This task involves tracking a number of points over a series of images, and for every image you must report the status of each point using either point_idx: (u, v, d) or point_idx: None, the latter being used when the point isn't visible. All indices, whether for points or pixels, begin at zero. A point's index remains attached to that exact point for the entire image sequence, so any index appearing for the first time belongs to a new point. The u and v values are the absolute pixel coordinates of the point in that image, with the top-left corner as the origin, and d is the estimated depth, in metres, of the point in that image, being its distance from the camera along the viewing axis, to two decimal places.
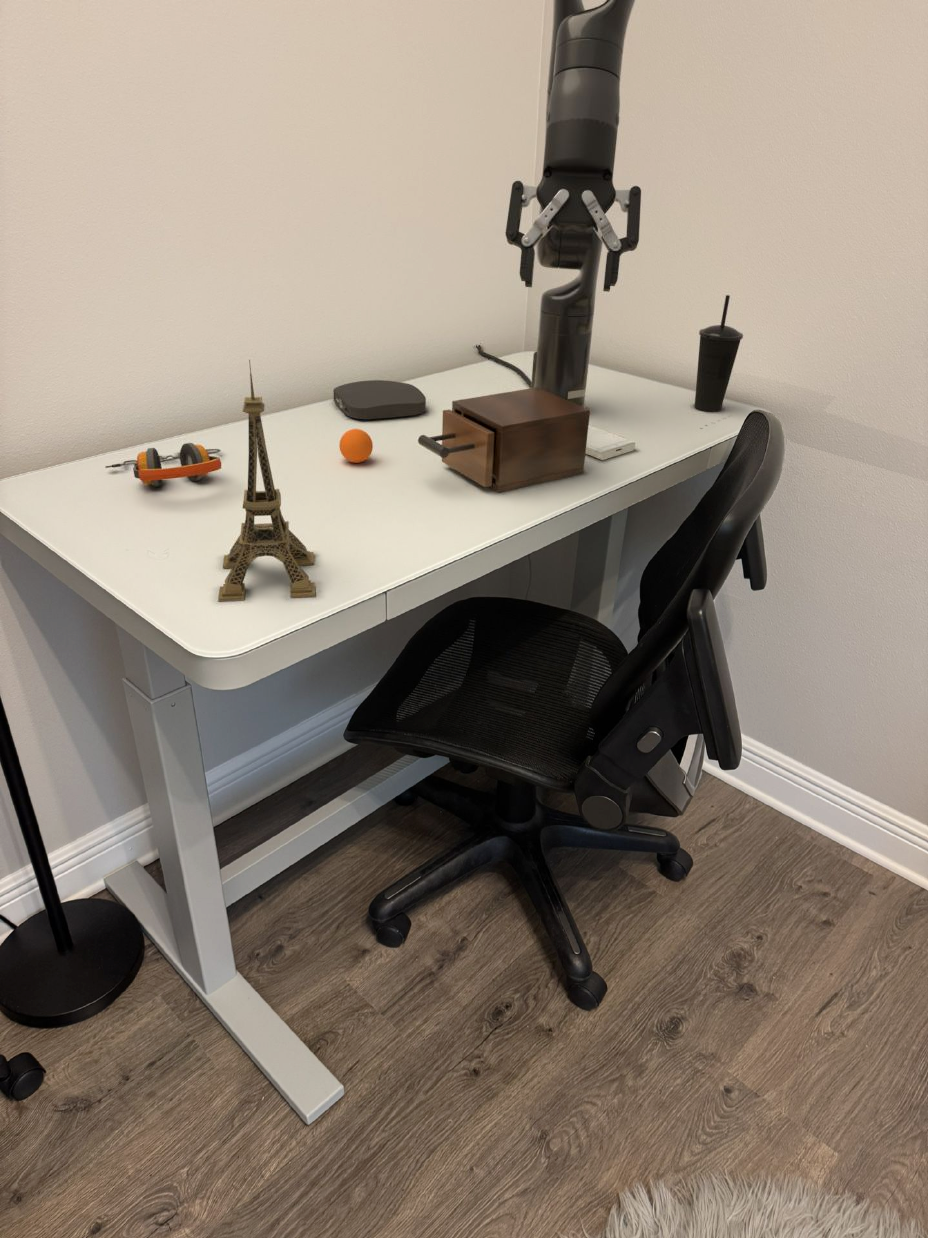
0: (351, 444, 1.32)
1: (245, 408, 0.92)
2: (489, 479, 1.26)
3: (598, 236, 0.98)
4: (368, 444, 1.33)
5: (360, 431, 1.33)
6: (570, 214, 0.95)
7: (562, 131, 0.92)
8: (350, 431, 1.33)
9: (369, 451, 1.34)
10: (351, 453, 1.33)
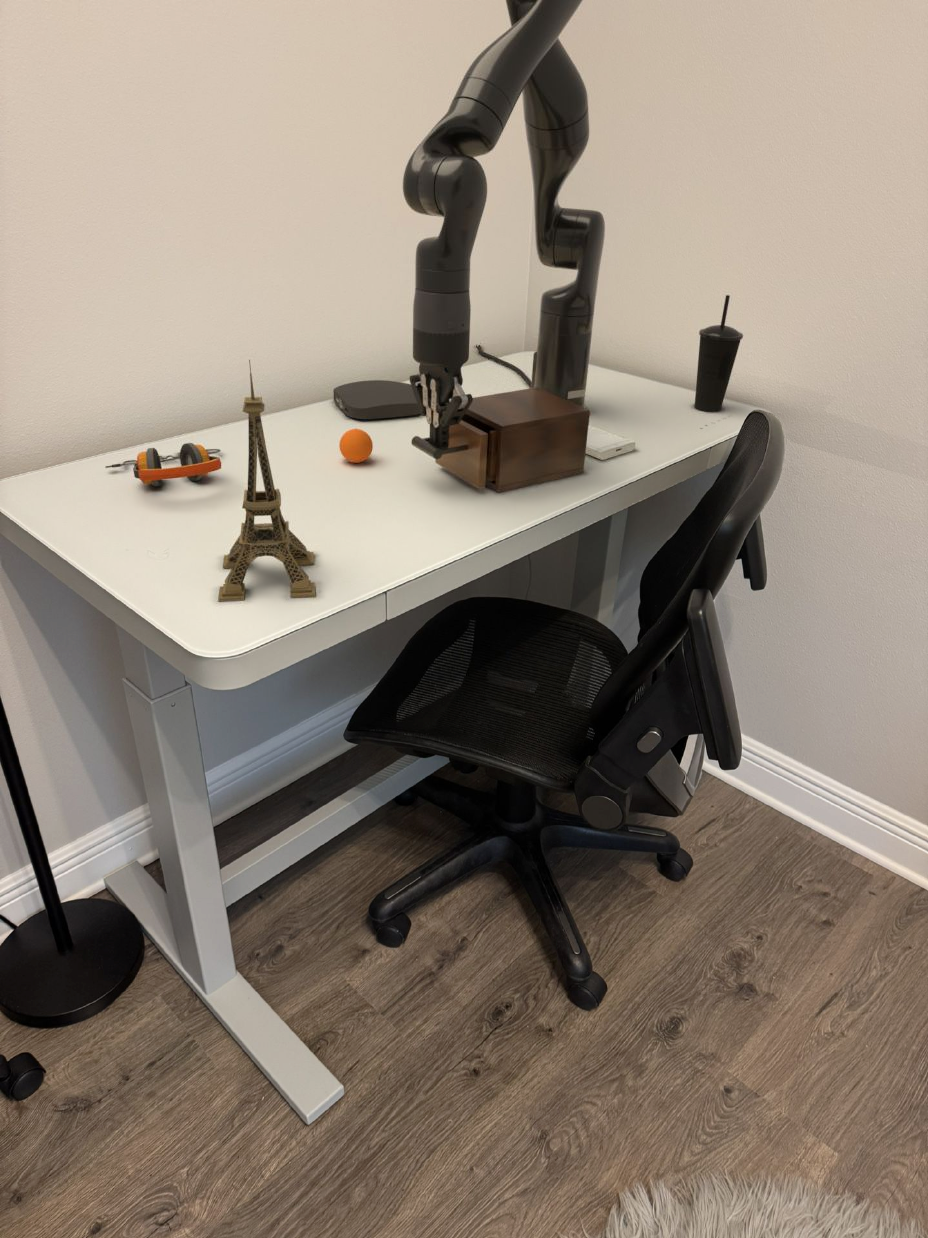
0: (351, 444, 1.32)
1: (245, 408, 0.92)
2: (482, 481, 1.26)
3: None
4: (368, 444, 1.33)
5: (360, 431, 1.33)
6: (431, 392, 1.22)
7: None
8: (350, 431, 1.33)
9: (369, 451, 1.34)
10: (351, 453, 1.33)
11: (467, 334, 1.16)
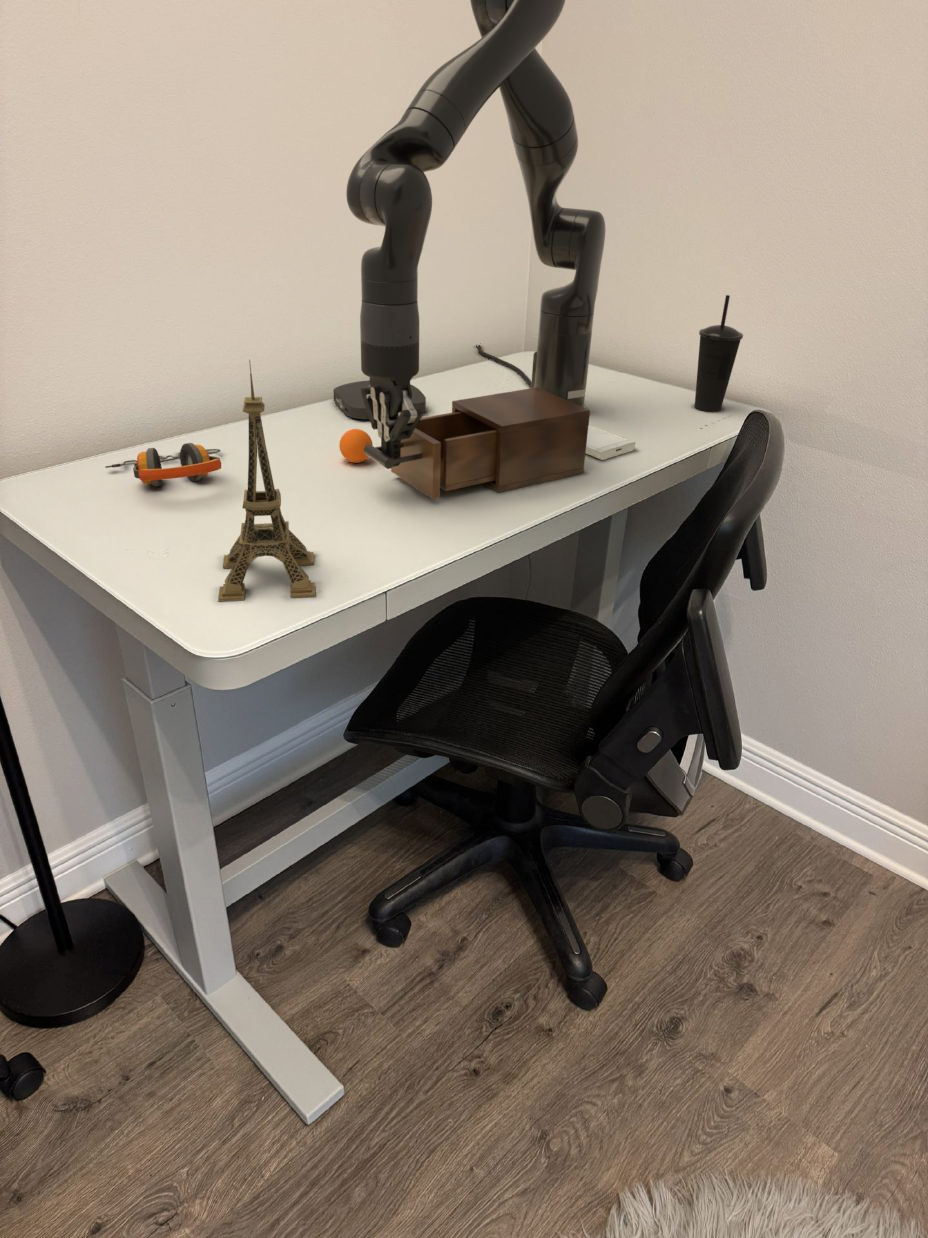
0: (351, 444, 1.32)
1: (245, 408, 0.92)
2: (437, 491, 1.22)
3: None
4: (368, 444, 1.33)
5: (360, 431, 1.33)
6: None
7: None
8: (350, 431, 1.33)
9: None
10: (351, 453, 1.33)
11: (416, 346, 1.13)
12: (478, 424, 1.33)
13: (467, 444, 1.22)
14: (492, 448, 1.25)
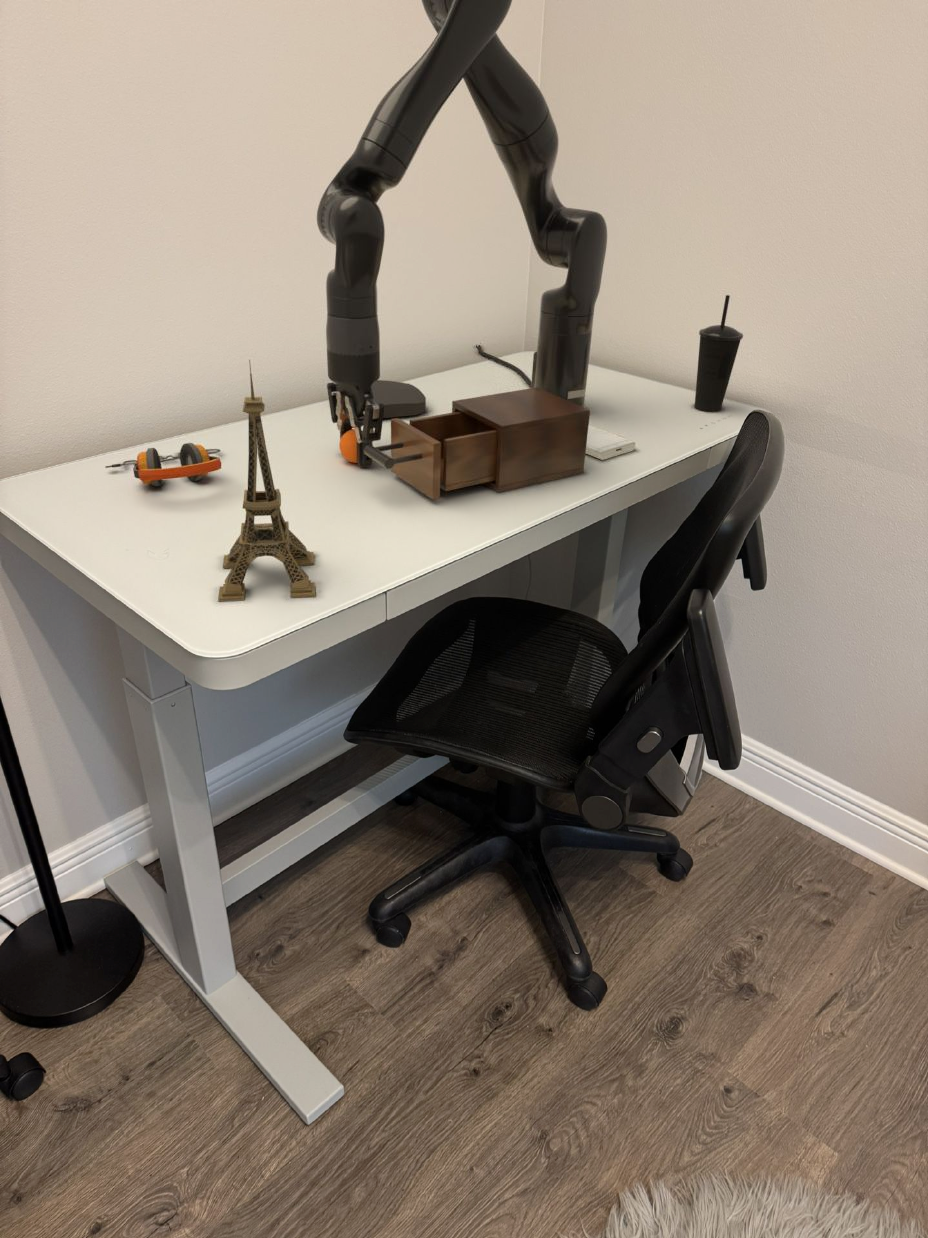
0: (351, 444, 1.32)
1: (245, 408, 0.92)
2: (437, 491, 1.22)
3: None
4: None
5: None
6: (347, 407, 1.31)
7: None
8: (350, 431, 1.33)
9: None
10: (351, 453, 1.33)
11: (376, 355, 1.26)
12: (478, 424, 1.33)
13: (467, 444, 1.22)
14: (492, 448, 1.25)
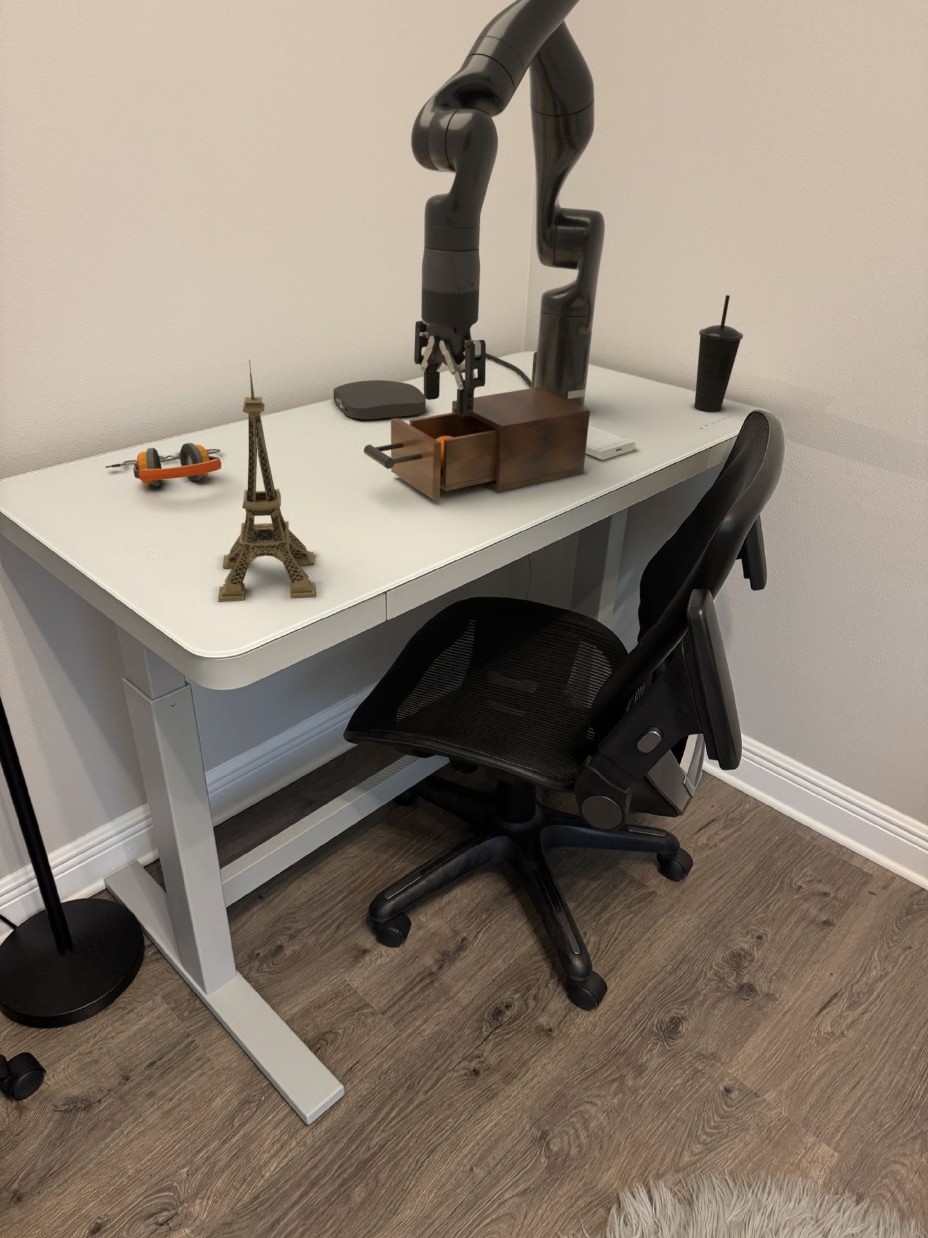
0: (443, 452, 1.25)
1: (245, 408, 0.92)
2: (437, 491, 1.22)
3: None
4: None
5: None
6: (440, 354, 1.20)
7: None
8: (441, 438, 1.26)
9: None
10: (442, 462, 1.25)
11: (476, 294, 1.15)
12: (478, 424, 1.33)
13: (467, 444, 1.22)
14: (492, 448, 1.25)
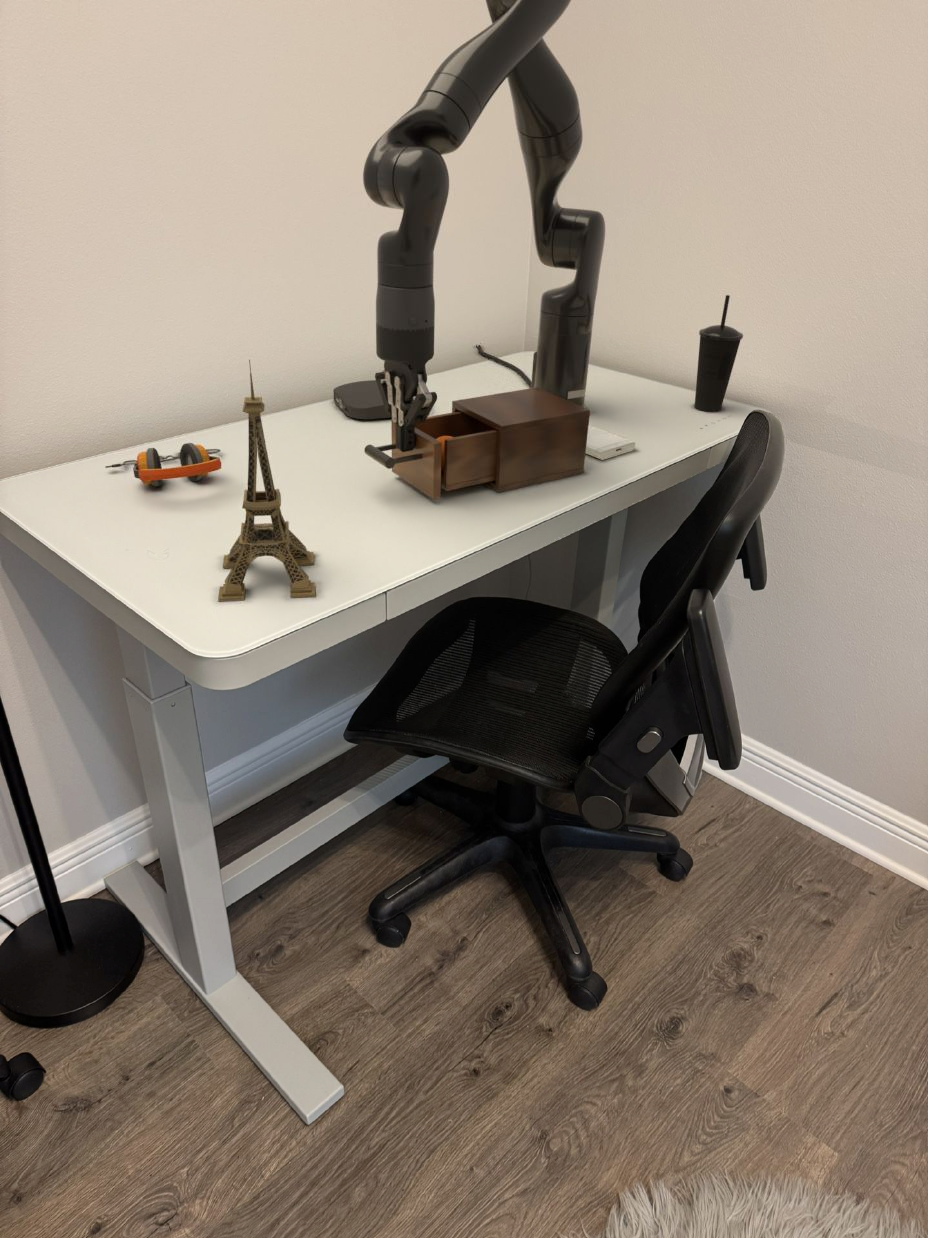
0: (443, 452, 1.25)
1: (245, 408, 0.92)
2: (437, 490, 1.22)
3: None
4: None
5: None
6: None
7: None
8: (440, 438, 1.26)
9: None
10: (442, 462, 1.25)
11: (431, 330, 1.14)
12: (479, 424, 1.33)
13: (468, 444, 1.22)
14: (493, 448, 1.25)
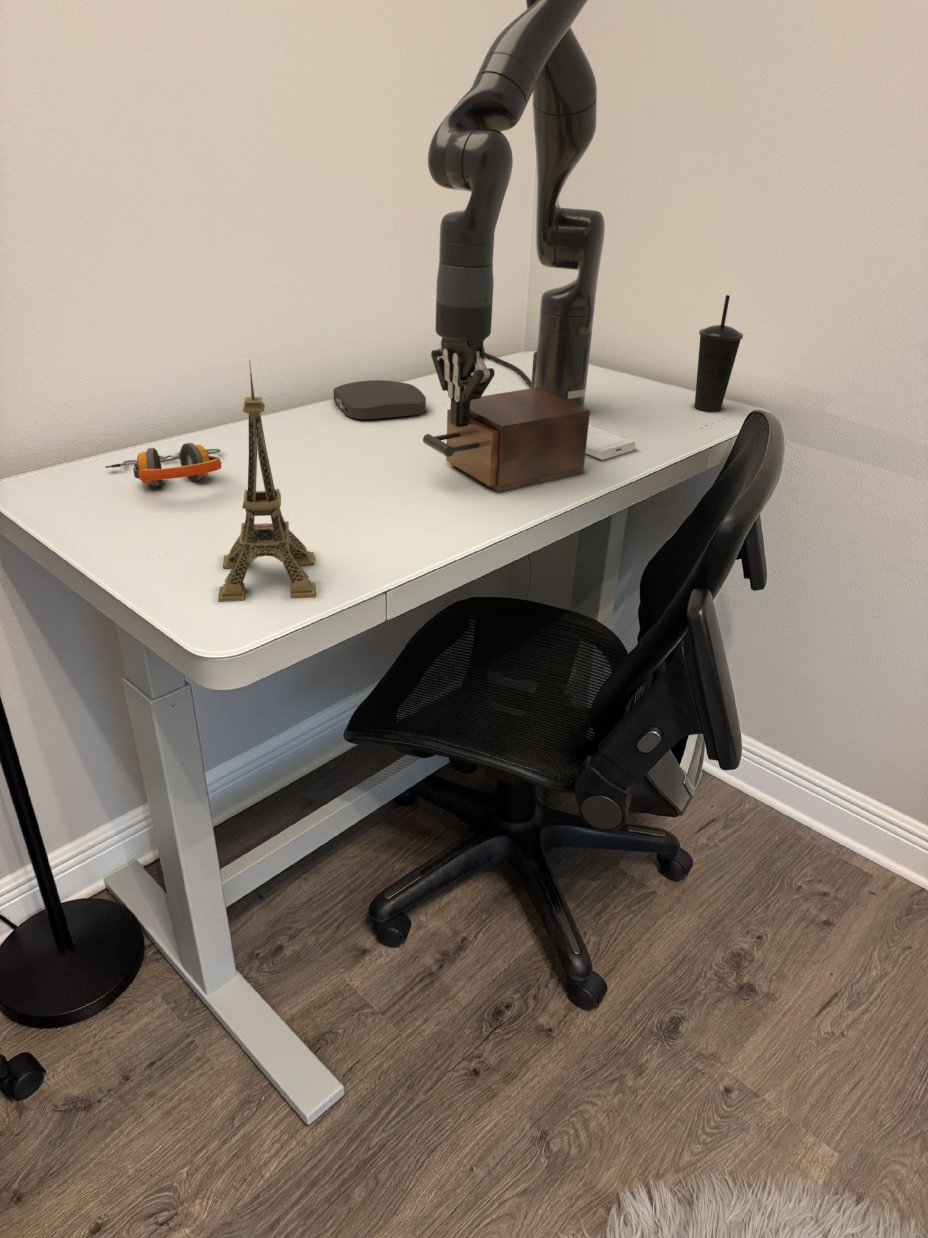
0: None
1: (245, 408, 0.92)
2: (493, 478, 1.27)
3: None
4: None
5: None
6: (453, 366, 1.23)
7: None
8: None
9: None
10: None
11: (490, 308, 1.18)
12: None
13: None
14: None
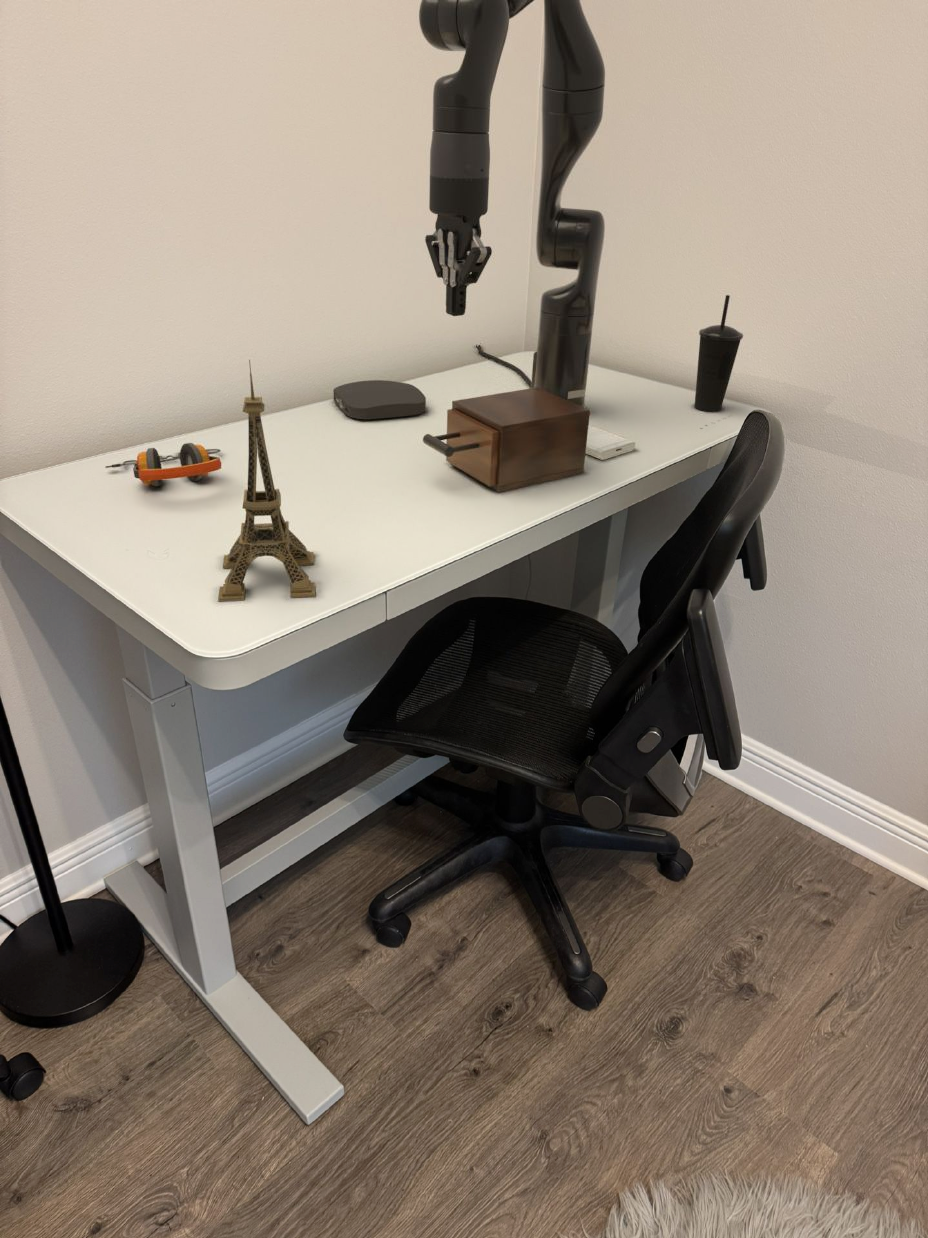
0: None
1: (245, 408, 0.92)
2: (493, 478, 1.27)
3: None
4: None
5: None
6: (448, 248, 1.17)
7: None
8: None
9: None
10: None
11: (486, 182, 1.12)
12: None
13: None
14: None
